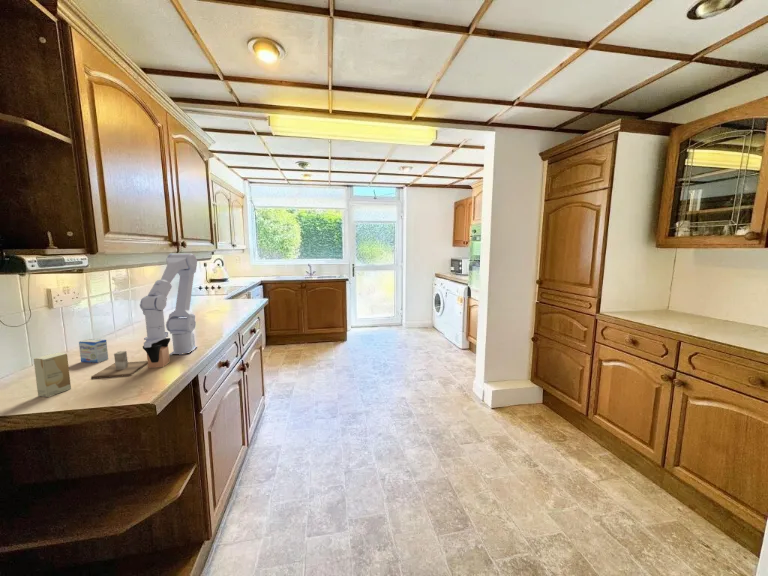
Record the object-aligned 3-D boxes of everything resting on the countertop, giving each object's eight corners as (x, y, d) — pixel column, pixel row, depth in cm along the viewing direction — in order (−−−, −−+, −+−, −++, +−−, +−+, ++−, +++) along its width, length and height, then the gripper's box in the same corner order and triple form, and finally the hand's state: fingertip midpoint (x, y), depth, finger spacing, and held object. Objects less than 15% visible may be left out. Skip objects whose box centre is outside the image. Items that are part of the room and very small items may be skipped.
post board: (114, 365, 120) (112, 348, 119) (149, 362, 123) (147, 345, 122) (91, 378, 107) (88, 359, 107) (130, 375, 110) (128, 357, 109)
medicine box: (80, 362, 123) (77, 341, 122) (92, 358, 127) (89, 338, 126) (97, 363, 122) (95, 342, 121) (109, 359, 127) (106, 339, 125)
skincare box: (47, 397, 94) (42, 359, 92) (37, 396, 95) (31, 358, 93) (72, 388, 100) (67, 352, 98) (62, 387, 101) (57, 351, 99)
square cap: (155, 363, 122) (153, 347, 121) (169, 362, 123) (168, 346, 123) (148, 367, 117) (146, 351, 116) (163, 366, 118) (162, 350, 118)
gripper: (153, 322, 124) (156, 354, 126) (132, 331, 110) (136, 367, 112) (172, 321, 126) (175, 352, 128) (155, 330, 112) (158, 365, 114)
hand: (158, 359), depth 120 cm, fingers closed on square cap, 5 cm apart
